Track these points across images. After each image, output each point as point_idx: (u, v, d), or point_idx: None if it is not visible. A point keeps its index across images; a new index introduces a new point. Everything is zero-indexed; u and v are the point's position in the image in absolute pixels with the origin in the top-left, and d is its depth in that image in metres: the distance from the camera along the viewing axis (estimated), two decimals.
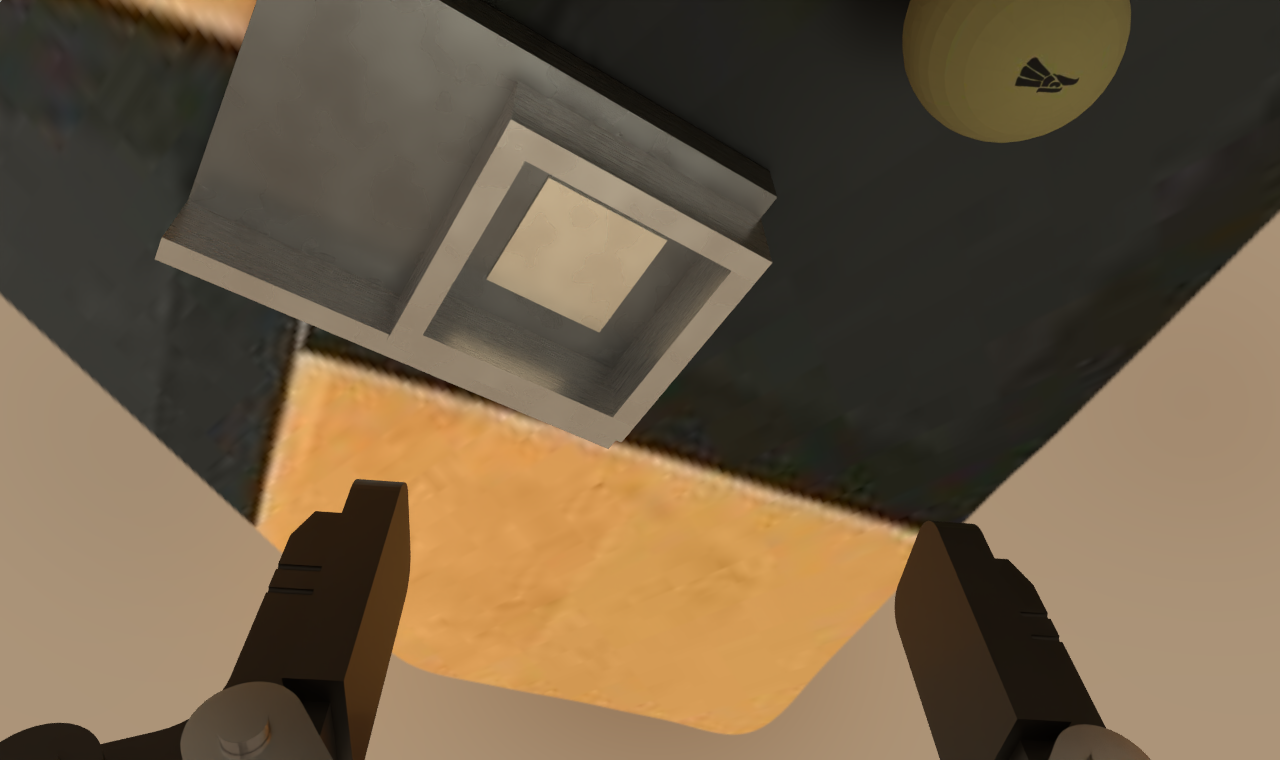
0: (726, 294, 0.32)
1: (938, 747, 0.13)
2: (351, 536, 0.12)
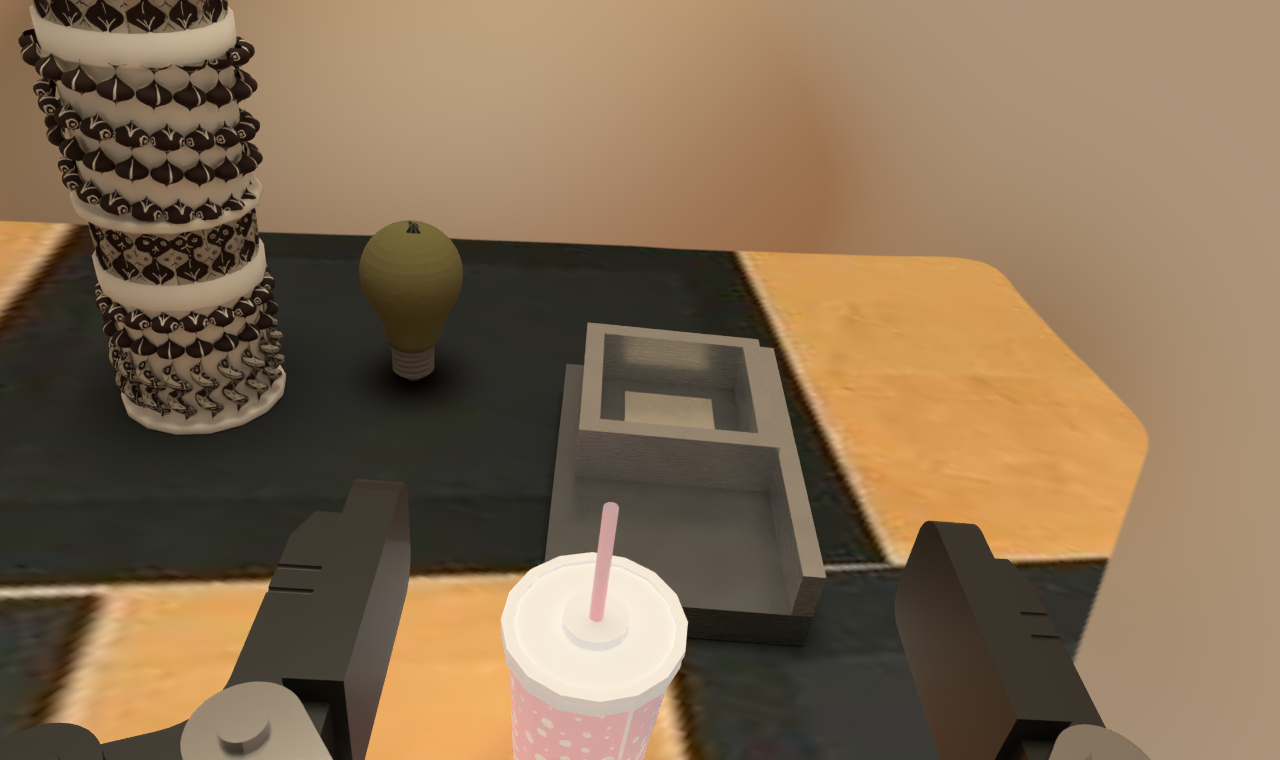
0: (620, 331, 0.52)
1: (938, 747, 0.13)
2: (351, 536, 0.12)
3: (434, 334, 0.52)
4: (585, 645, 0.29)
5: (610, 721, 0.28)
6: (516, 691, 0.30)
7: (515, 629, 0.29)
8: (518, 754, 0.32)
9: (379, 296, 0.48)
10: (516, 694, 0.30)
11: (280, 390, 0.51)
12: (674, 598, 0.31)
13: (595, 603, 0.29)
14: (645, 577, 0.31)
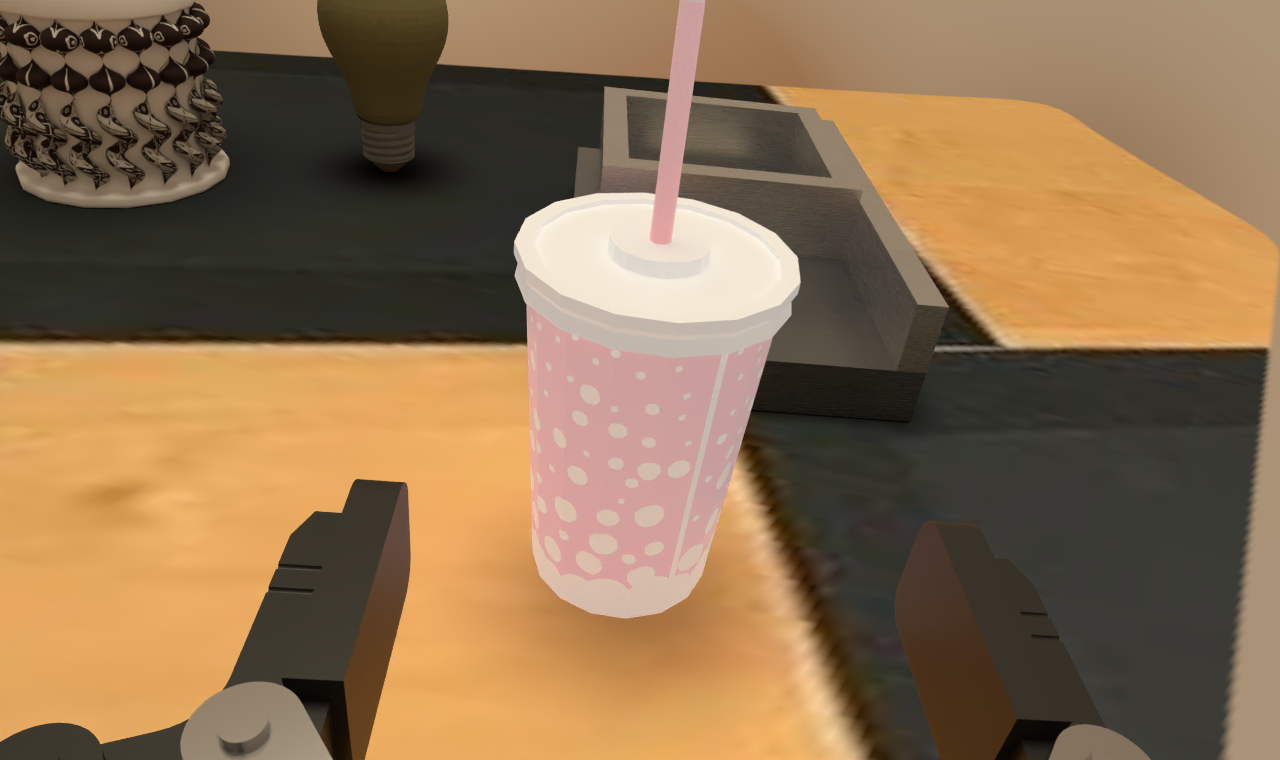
0: (645, 94, 0.42)
1: (938, 747, 0.13)
2: (351, 536, 0.12)
3: (413, 100, 0.41)
4: (646, 270, 0.18)
5: (690, 381, 0.18)
6: (539, 359, 0.19)
7: (537, 252, 0.19)
8: (541, 488, 0.21)
9: (342, 31, 0.38)
10: (539, 366, 0.19)
11: (221, 170, 0.41)
12: (772, 236, 0.21)
13: (661, 206, 0.19)
14: (725, 218, 0.21)
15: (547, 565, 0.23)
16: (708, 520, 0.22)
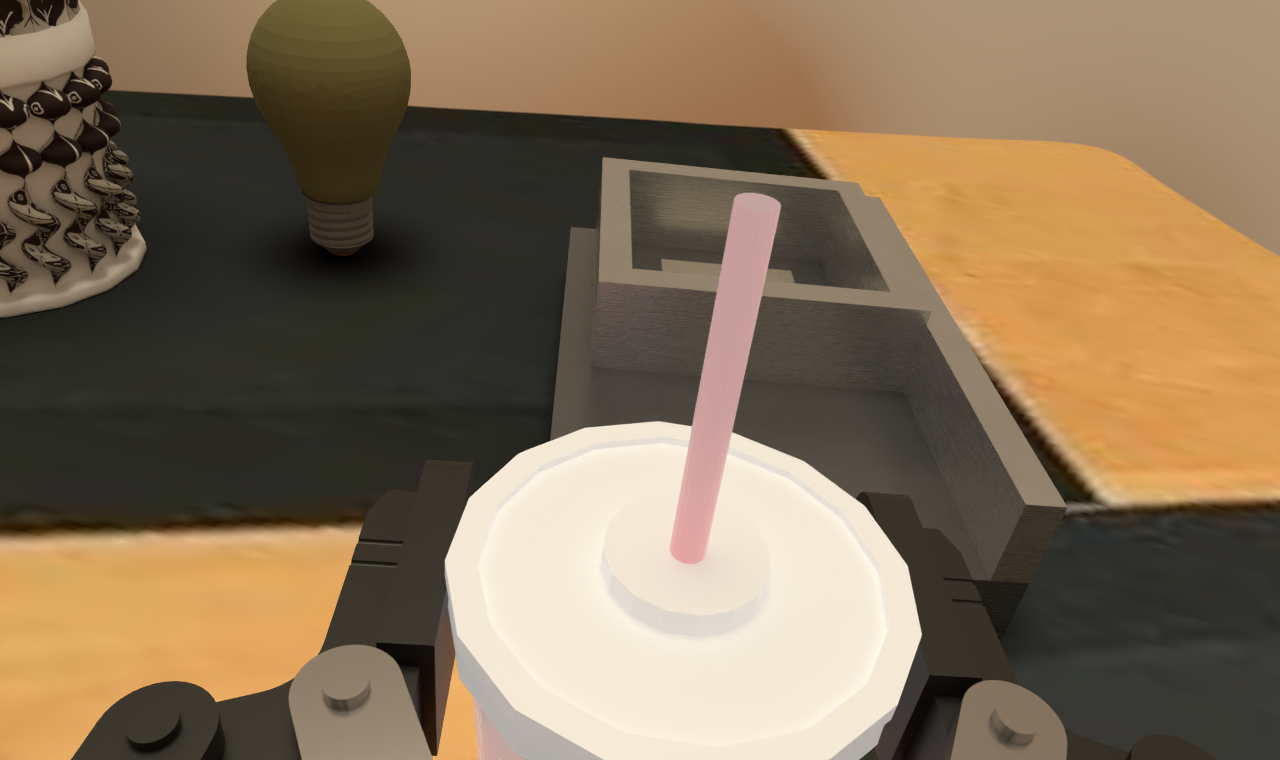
0: (652, 167, 0.34)
1: None
2: (428, 512, 0.12)
3: (368, 174, 0.34)
4: (664, 623, 0.11)
5: None
6: (487, 745, 0.12)
7: (481, 585, 0.11)
8: None
9: (275, 97, 0.31)
10: (487, 752, 0.12)
11: (132, 261, 0.33)
12: (861, 514, 0.13)
13: (691, 513, 0.11)
14: (784, 471, 0.14)
15: None
16: None
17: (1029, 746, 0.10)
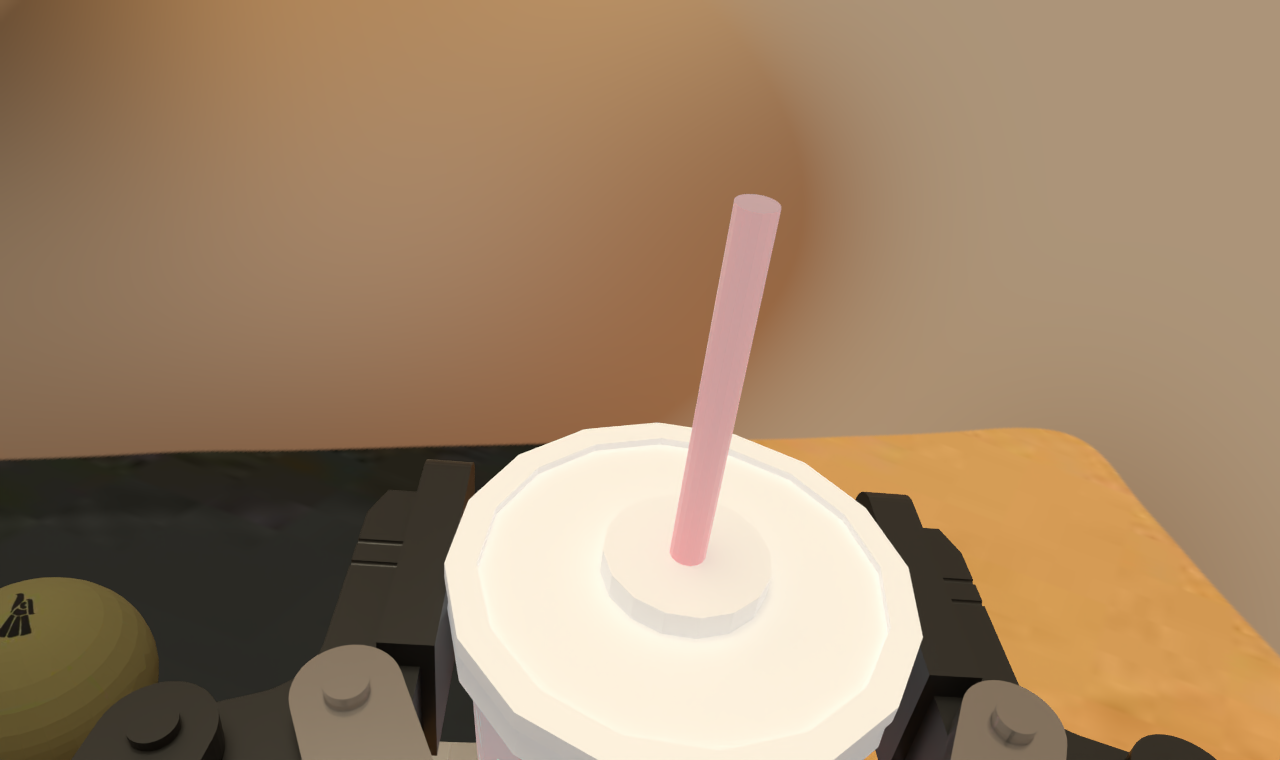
0: None
1: None
2: (428, 512, 0.12)
3: None
4: (665, 626, 0.11)
5: None
6: (487, 747, 0.12)
7: (480, 587, 0.11)
8: None
9: None
10: (487, 755, 0.12)
11: None
12: (862, 515, 0.13)
13: (692, 515, 0.11)
14: (785, 473, 0.14)
15: None
16: None
17: (1029, 746, 0.10)
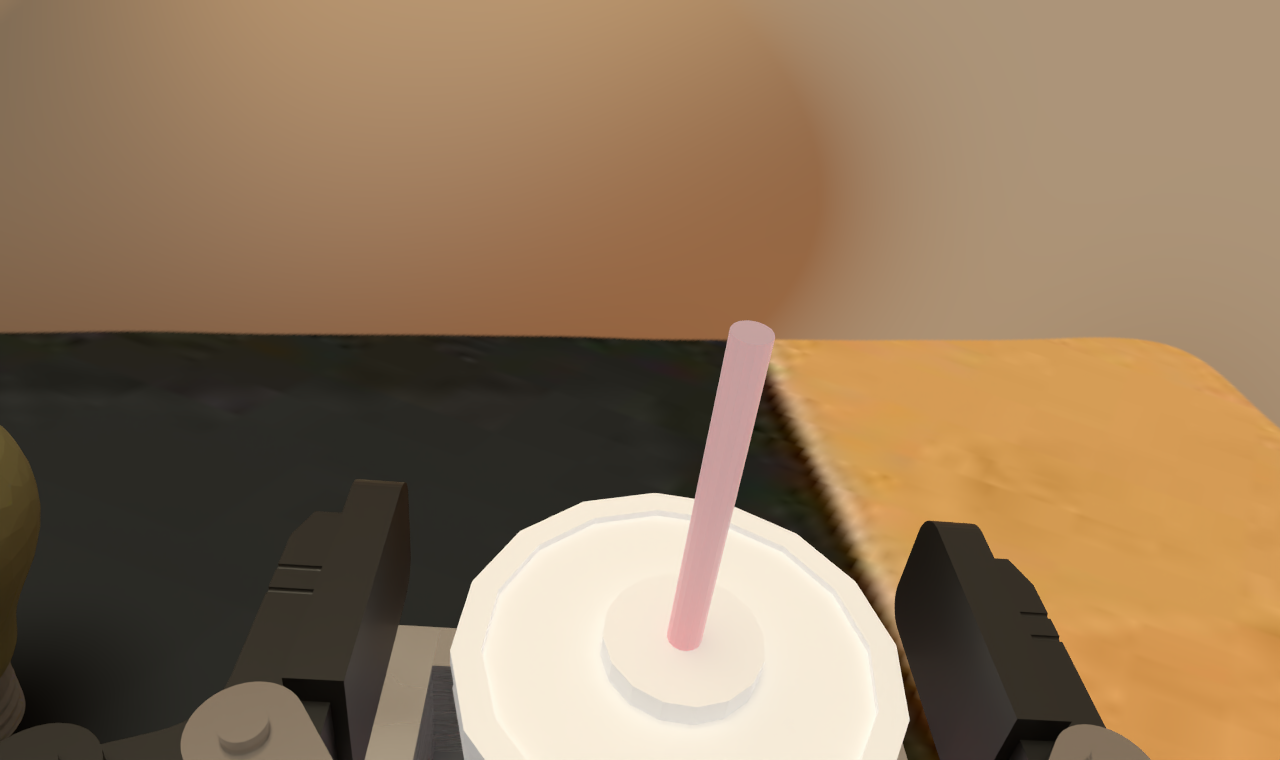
0: None
1: (938, 747, 0.13)
2: (351, 536, 0.12)
3: None
4: (663, 713, 0.11)
5: None
6: None
7: (486, 674, 0.12)
8: None
9: None
10: None
11: None
12: (852, 590, 0.13)
13: (688, 606, 0.11)
14: (777, 545, 0.14)
15: None
16: None
17: None
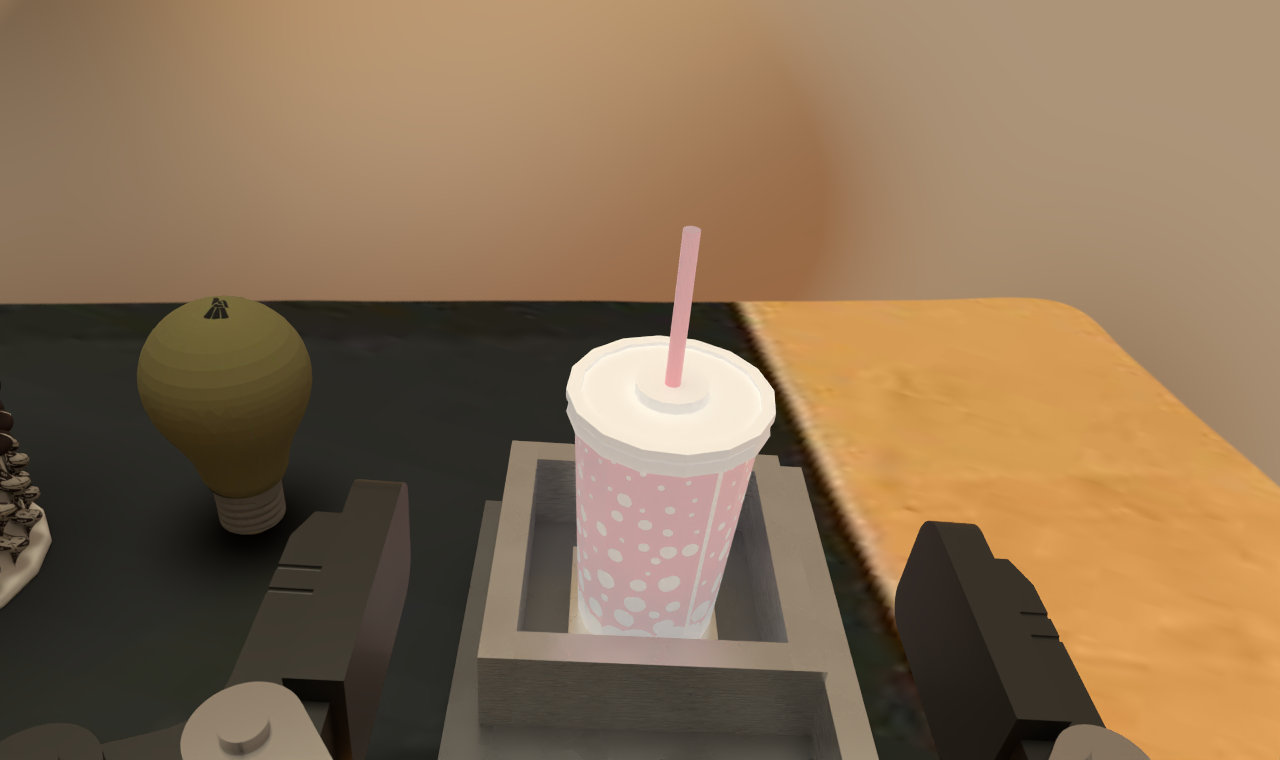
0: (562, 453, 0.33)
1: (938, 747, 0.13)
2: (351, 536, 0.12)
3: (271, 469, 0.33)
4: (663, 409, 0.25)
5: (697, 490, 0.25)
6: (586, 473, 0.26)
7: (583, 397, 0.26)
8: (586, 562, 0.28)
9: (163, 421, 0.30)
10: (586, 477, 0.26)
11: (32, 566, 0.33)
12: (755, 372, 0.28)
13: (672, 362, 0.26)
14: (720, 356, 0.28)
15: (591, 618, 0.30)
16: (713, 583, 0.28)
17: None
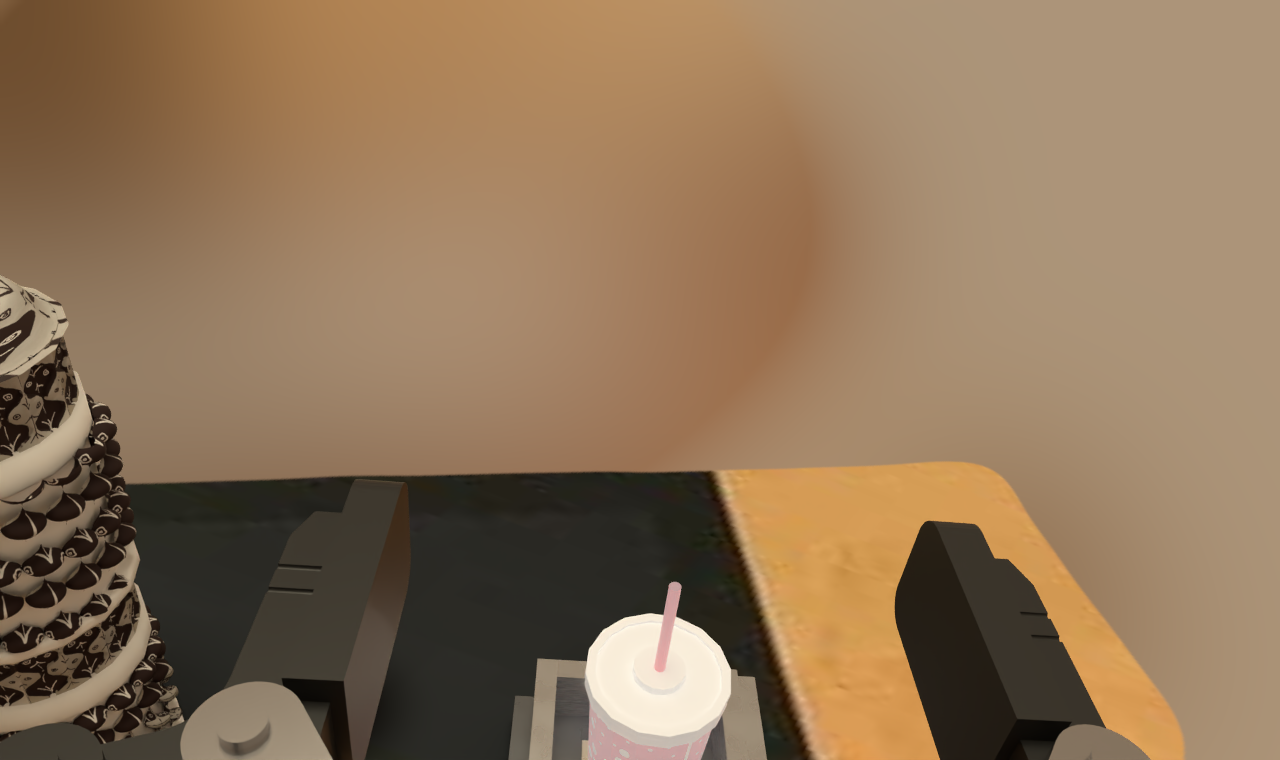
0: (575, 670, 0.44)
1: (938, 747, 0.13)
2: (351, 536, 0.12)
3: None
4: (652, 691, 0.37)
5: (675, 750, 0.36)
6: (597, 728, 0.37)
7: (597, 680, 0.37)
8: None
9: None
10: (597, 731, 0.38)
11: None
12: (718, 650, 0.39)
13: (660, 658, 0.37)
14: (694, 633, 0.39)
15: None
16: None
17: None
